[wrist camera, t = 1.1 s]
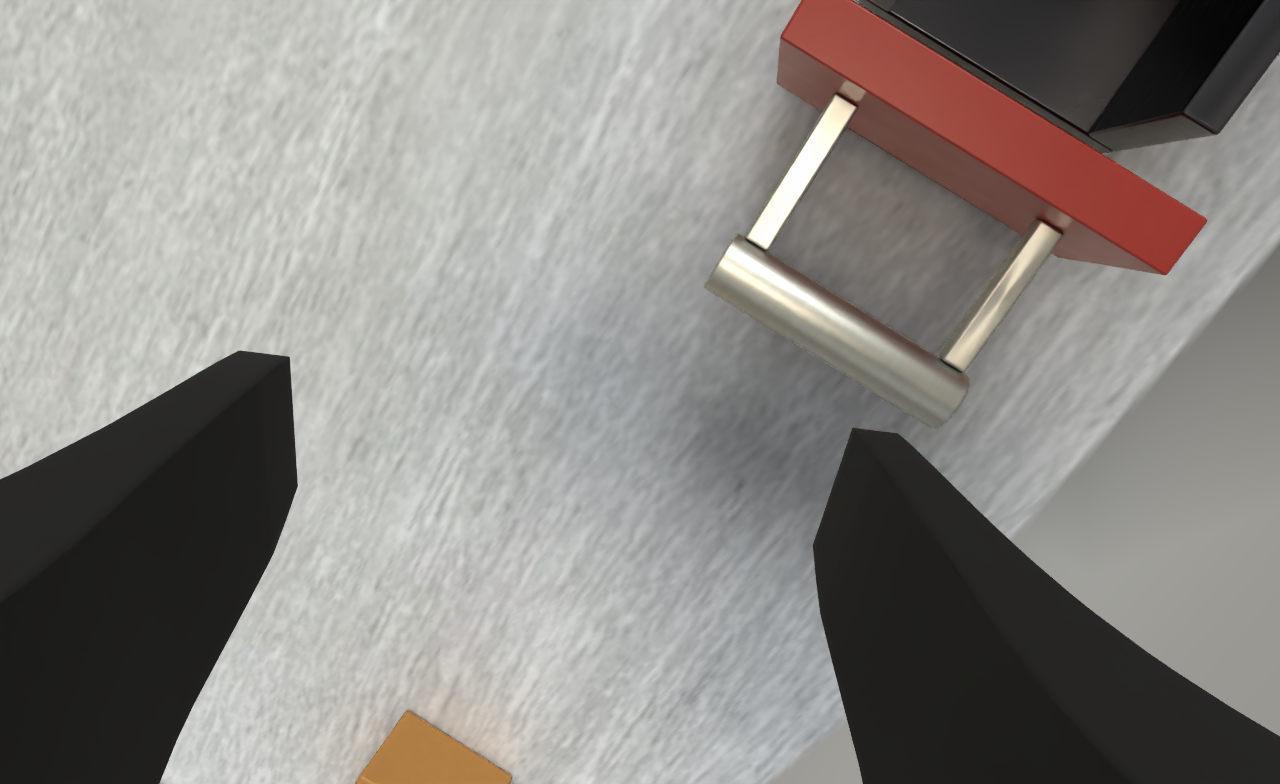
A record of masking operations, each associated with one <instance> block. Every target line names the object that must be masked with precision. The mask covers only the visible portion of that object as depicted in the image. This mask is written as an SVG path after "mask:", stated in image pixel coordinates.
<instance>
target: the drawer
mask: <svg viewBox="0 0 1280 784" xmlns="http://www.w3.org/2000/svg"><path fill="white" fill-rule="evenodd" d="M858 2H859V4H860V5H862V6H864V7H865V8H867V9H868V10H867V9H865V8H864V7H862V6H860V5H859V4H857V3H856V2H854V1H852V0H802V1H801V2H800V4H799V6H798V7H797V9H796V11H795V12H794V14H793V16H792V17H791V19H790V21H789V22H788V24H787V26H786V27H785V29H784V31H783V32H782V34H781V37H780V48H779V60H778V71H777V84H778V85H780V86H782V87H783V88H785V89H787V90H788V91H790V92H791V93H793V94H795V95H796V96H798V97H800V98H801V99H803V100H804V101H806V102H808V103H809V104H811V105H812V106H814V107H816V108H817V109H819V110H821V111H822V113H821V115H820V116H819V118H818V120H817V121H816V123H815V125H814V126H813V128H812V129H811V131H810V133H809V134H808V136H807V137H806V139H805V141H804V142H803V144H802V145H801V147H800V149H799V150H798V152H797V153H796V155H795V157H794V158H793V160H792V161H791V163H790V165H789V166H788V168H787V170H786V171H785V173H784V174H783V176H782V178H781V179H780V181H779V182H778V184H777V186H776V187H775V189H774V190H773V192H772V194H771V195H770V197H769V198H768V200H767V202H766V203H765V205H764V207H763V208H762V210H761V211H760V213H759V215H758V216H757V218H756V219H755V221H754V223H753V224H752V226H751V227H750V229H749V231H748V232H747V234H746V238H745V237H744V236H742V235H740V234H738V233H737V234H735V236H734V237H733V239H732V240H731V242H730V244H729V245H728V247H727V248H726V250H725V251H724V253H723V255H722V256H721V258H720V259H719V261H718V263H717V264H716V266H715V268H714V269H713V271H712V272H711V274H710V276H709V277H708V279H707V281H706V282H705V284H704V287H705V288H706V289H707V290H709V291H710V292H712V293H714V294H715V295H717V296H719V297H720V298H722V299H723V300H725V301H727V302H728V303H730V304H731V305H733V306H735V307H736V308H738V309H739V310H741V311H743V312H744V313H746V314H748V315H749V316H751V317H752V318H754V319H756V320H757V321H759V322H760V323H762V324H764V325H765V326H767V327H768V328H770V329H772V330H773V331H775V332H777V333H778V334H780V335H781V336H783V337H785V338H786V339H788V340H789V341H791V342H793V343H794V344H796V345H797V346H799V347H801V348H802V349H804V350H805V351H807V352H809V353H810V354H812V355H814V356H815V357H817V358H818V359H820V360H822V361H823V362H825V363H826V364H828V365H830V366H831V367H833V368H834V369H836V370H838V371H839V372H841V373H843V374H844V375H846V376H847V377H849V378H851V379H852V380H854V381H855V382H857V383H859V384H860V385H862V386H863V387H865V388H867V389H868V390H870V391H872V392H873V393H875V394H876V395H878V396H880V397H881V398H883V399H884V400H886V401H888V402H889V403H891V404H892V405H894V406H896V407H897V408H899V409H901V410H902V411H904V412H905V413H907V414H909V415H910V416H912V417H913V418H915V419H917V420H918V421H920V422H921V423H923V424H925V425H926V426H928V427H930V428H931V429H937V428H939V427H941V426H942V425H943V424H944V423H946V422H947V421H948V420H949V419H950V418H951V416H952V415H953V414H954V413H955V411H956V410H957V409H958V407H959V406H960V404H961V403H962V401H963V399H964V397H965V396H966V393H967V391H968V388H969V385H970V378H969V376H968V375H966V374H965V373H963V372H966V371H967V370H968V368H969V367H970V365H971V364H972V363H973V361H974V360H975V358H976V357H977V356H978V354H979V353H980V351H981V350H982V349H983V347H984V346H985V344H986V343H987V342H988V340H989V339H990V338H991V336H992V335H993V333H994V332H995V331H996V329H997V328H998V326H999V325H1000V324H1001V322H1002V321H1003V319H1004V318H1005V317H1006V315H1007V314H1008V312H1009V311H1010V310H1011V308H1012V307H1013V305H1014V304H1015V303H1016V301H1017V300H1018V299H1019V297H1020V296H1021V294H1022V293H1023V292H1024V290H1025V289H1026V287H1027V286H1028V285H1029V283H1030V282H1031V280H1032V279H1033V278H1034V276H1035V275H1036V273H1037V272H1038V271H1039V269H1040V268H1041V266H1042V265H1043V264H1044V262H1045V261H1046V260H1047V258H1048V257H1049V255H1050V254H1051V253H1052V254H1054V255H1055V256H1057V257H1060V258H1066V259H1072V260H1078V261H1084V262H1090V263H1096V264H1102V265H1108V266H1114V267H1120V268H1125V269H1131V270H1137V271H1143V272H1149V273H1155V274H1161V275H1167V274H1168V273H1169V271H1170V270H1171V269H1172V267H1173V266H1174V265H1175V263H1176V262H1177V261H1178V259H1179V258H1180V257H1181V255H1182V254H1183V253H1184V251H1185V250H1186V249H1187V248H1188V246H1189V245H1190V244H1191V242H1192V241H1193V240H1194V238H1195V237H1196V236H1197V234H1198V233H1199V232H1200V230H1201V229H1202V228H1203V226H1204V225H1205V224H1206V222H1207V219H1206V218H1205V217H1203V216H1202V215H1200V214H1198V213H1197V212H1195V211H1193V210H1192V209H1190V208H1189V207H1187V206H1185V205H1184V204H1182V203H1180V202H1179V201H1177V200H1176V199H1174V198H1172V197H1171V196H1169V195H1167V194H1166V193H1164V192H1163V191H1161V190H1159V189H1158V188H1156V187H1154V186H1153V185H1151V184H1150V183H1148V182H1146V181H1145V180H1143V179H1141V178H1140V177H1138V176H1137V175H1135V174H1133V173H1132V172H1130V171H1128V170H1127V169H1125V168H1124V167H1122V166H1120V165H1119V164H1117V163H1115V162H1114V161H1112V160H1111V159H1109V158H1107V157H1106V156H1104V155H1102V154H1101V153H1108V152H1114V151H1121V150H1127V149H1133V148H1139V147H1145V146H1151V145H1157V144H1163V143H1170V142H1176V141H1182V140H1188V139H1194V138H1200V137H1206V136H1213V135H1217V134H1219V133H1220V132H1221V131H1222V129H1223V128H1224V127H1225V125H1226V124H1227V122H1228V121H1229V120H1230V118H1231V117H1232V116H1233V114H1234V113H1235V112H1236V110H1237V109H1238V108H1239V106H1240V105H1241V104H1242V102H1243V101H1244V100H1245V98H1246V97H1247V96H1248V94H1249V93H1250V92H1251V90H1252V89H1253V87H1254V86H1255V85H1256V83H1257V82H1258V81H1259V79H1260V78H1261V77H1262V75H1263V74H1264V73H1265V71H1266V70H1267V69H1268V67H1269V66H1270V65H1271V63H1272V62H1273V61H1274V59H1275V58H1276V56H1277V55H1278V54H1279V52H1280V0H859V1H858ZM869 10H870V11H872V12H873V13H875V14H877V15H878V16H880V17H881V18H880V17H878V16H877V15H875V14H873V13H872V12H870V11H869ZM882 18H883V19H885V20H886V21H888V22H890V23H891V24H893V25H894V26H893V25H891V24H890V23H888V22H886V21H885V20H883V19H882ZM895 26H896V27H898V28H899V29H901V30H903V31H904V32H906V33H907V34H906V33H904V32H903V31H901V30H899V29H898V28H896V27H895ZM908 34H909V35H911V36H912V37H914V38H916V39H917V40H919V41H920V42H919V41H917V40H916V39H914V38H912V37H911V36H909V35H908ZM921 42H922V43H924V44H925V45H927V46H929V47H930V48H932V49H933V50H932V49H930V48H929V47H927V46H925V45H924V44H922V43H921ZM934 50H935V51H937V52H938V53H940V54H942V55H943V56H945V57H946V58H945V57H943V56H942V55H940V54H938V53H937V52H935V51H934ZM947 58H948V59H950V60H951V61H953V62H955V63H956V64H958V65H959V66H958V65H956V64H955V63H953V62H951V61H950V60H948V59H947ZM960 66H961V67H963V68H964V69H966V70H968V71H969V72H971V73H972V74H971V73H969V72H968V71H966V70H964V69H963V68H961V67H960ZM973 74H974V75H976V76H977V77H979V78H981V79H982V80H984V81H985V82H984V81H982V80H981V79H979V78H977V77H976V76H974V75H973ZM986 82H987V83H989V84H990V85H992V86H994V87H995V88H997V89H998V90H997V89H995V88H994V87H992V86H990V85H989V84H987V83H986ZM999 90H1000V91H1002V92H1003V93H1005V94H1007V95H1008V96H1010V97H1011V98H1010V97H1008V96H1007V95H1005V94H1003V93H1002V92H1000V91H999ZM1012 98H1013V99H1015V100H1016V101H1018V102H1020V103H1021V104H1023V105H1024V106H1026V107H1028V108H1029V109H1031V110H1033V111H1034V112H1036V113H1037V114H1039V115H1041V116H1042V117H1044V118H1046V119H1047V120H1049V121H1050V122H1052V123H1054V124H1055V125H1057V126H1059V127H1060V128H1062V129H1063V130H1065V131H1067V132H1068V133H1070V134H1072V135H1073V136H1075V137H1076V138H1078V139H1080V140H1081V141H1083V142H1085V143H1086V144H1088V145H1089V146H1091V147H1093V148H1094V149H1096V150H1097V151H1096V150H1094V149H1093V148H1091V147H1089V146H1088V145H1086V144H1085V143H1083V142H1081V141H1080V140H1078V139H1076V138H1075V137H1073V136H1072V135H1070V134H1068V133H1067V132H1065V131H1063V130H1062V129H1060V128H1059V127H1057V126H1055V125H1054V124H1052V123H1050V122H1049V121H1047V120H1046V119H1044V118H1042V117H1041V116H1039V115H1037V114H1036V113H1034V112H1033V111H1031V110H1029V109H1028V108H1026V107H1024V106H1023V105H1021V104H1020V103H1018V102H1016V101H1015V100H1013V99H1012ZM846 127H848V128H850V129H851V130H853V131H855V132H856V133H858V134H859V135H861V136H863V137H864V138H866V139H868V140H869V141H871V142H872V143H874V144H876V145H877V146H879V147H881V148H882V149H884V150H885V151H887V152H889V153H890V154H892V155H893V156H895V157H897V158H898V159H900V160H902V161H903V162H905V163H906V164H908V165H910V166H911V167H913V168H915V169H916V170H918V171H919V172H921V173H923V174H924V175H926V176H927V177H929V178H931V179H932V180H934V181H936V182H937V183H939V184H940V185H942V186H944V187H945V188H947V189H949V190H950V191H952V192H953V193H955V194H957V195H958V196H960V197H961V198H963V199H965V200H966V201H968V202H970V203H971V204H973V205H974V206H976V207H978V208H979V209H981V210H983V211H984V212H986V213H987V214H989V215H991V216H992V217H994V218H996V219H997V220H999V221H1000V222H1002V223H1004V224H1005V225H1007V226H1008V227H1010V228H1012V229H1013V230H1015V231H1017V232H1018V233H1020V234H1021V235H1022V236H1021V237H1020V239H1019V240H1018V242H1017V243H1016V245H1015V246H1014V247H1013V249H1012V250H1011V252H1010V253H1009V254H1008V256H1007V257H1006V259H1005V260H1004V262H1003V263H1002V264H1001V266H1000V267H999V269H998V270H997V271H996V273H995V274H994V276H993V277H992V279H991V280H990V281H989V283H988V284H987V286H986V287H985V288H984V290H983V291H982V293H981V294H980V296H979V297H978V298H977V300H976V301H975V303H974V304H973V306H972V307H971V308H970V310H969V311H968V313H967V314H966V315H965V317H964V318H963V320H962V321H961V323H960V324H959V325H958V327H957V328H956V330H955V331H954V332H953V334H952V335H951V337H950V338H949V340H948V341H947V342H946V344H945V345H944V347H943V348H942V349H941V351H940V352H939V355H938V356H939V357H940V358H941V359H940V358H939V357H937V356H936V355H934V354H932V353H931V352H929V351H928V350H926V349H924V348H923V347H921V346H919V345H918V344H916V343H915V342H913V341H911V340H910V339H908V338H907V337H905V336H903V335H902V334H900V333H899V332H897V331H895V330H894V329H892V328H890V327H889V326H887V325H886V324H884V323H882V322H881V321H879V320H878V319H876V318H874V317H873V316H871V315H869V314H868V313H866V312H865V311H863V310H861V309H860V308H858V307H857V306H855V305H853V304H852V303H850V302H849V301H847V300H845V299H844V298H842V297H840V296H839V295H837V294H836V293H834V292H832V291H831V290H829V289H828V288H826V287H824V286H823V285H821V284H819V283H818V282H816V281H815V280H813V279H811V278H810V277H808V276H807V275H805V274H803V273H802V272H800V271H798V270H797V269H795V268H794V267H792V266H790V265H789V264H787V263H786V262H784V261H782V260H781V259H779V258H778V257H776V256H774V255H773V254H771V253H769V252H768V250H769V249H770V248H771V246H772V245H773V243H774V241H775V240H776V238H777V237H778V235H779V234H780V232H781V230H782V229H783V227H784V226H785V224H786V222H787V221H788V219H789V218H790V216H791V215H792V213H793V211H794V210H795V208H796V207H797V205H798V203H799V202H800V200H801V199H802V197H803V196H804V194H805V192H806V191H807V189H808V188H809V186H810V184H811V183H812V181H813V180H814V178H815V177H816V175H817V173H818V172H819V170H820V169H821V167H822V165H823V164H824V162H825V161H826V159H827V158H828V156H829V154H830V153H831V151H832V150H833V148H834V146H835V145H836V143H837V142H838V140H839V139H840V137H841V135H842V134H843V132H844V131H845V129H846ZM1098 151H1099V152H1101V153H1099V152H1098Z"/></svg>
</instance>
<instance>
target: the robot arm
mask: <svg viewBox="0 0 1280 784" xmlns="http://www.w3.org/2000/svg"><path fill="white" fill-rule="evenodd" d="M297 487H298V484H297V468H296V452H295V436H294V420H293V404H292V388H291V372H290V357H287V356H279V355H271V354H263V353H255V352H247V351H238V352H236V353H234V354H232V355H230V356H228V357H226V358H224V359H222V360H220V361H218V362H217V363H215V364H213V365H211V366H209V367H208V368H206V369H204V370H203V371H201V372H199V373H197V374H196V375H194V376H192V377H191V378H189V379H187V380H186V381H184V382H182V383H180V384H179V385H177V386H175V387H174V388H172V389H170V390H169V391H167V392H165V393H163V394H162V395H160V396H158V397H156V398H155V399H153V400H151V401H149V402H148V403H146V404H144V405H142V406H141V407H139V408H137V409H135V410H134V411H132V412H130V413H128V414H127V415H125V416H123V417H121V418H120V419H118V420H116V421H114V422H113V423H111V424H109V425H107V426H105V427H104V428H102V429H100V430H98V431H96V432H94V433H92V434H90V435H88V436H86V437H84V438H82V439H80V440H78V441H77V442H75V443H73V444H71V445H69V446H67V447H65V448H63V449H61V450H59V451H57V452H55V453H53V454H51V455H49V456H47V457H46V458H44V459H42V460H40V461H38V462H36V463H34V464H32V465H30V466H28V467H26V468H24V469H22V470H20V471H18V472H15V473H13V474H11V475H9V476H7V477H5V478H3V479H0V784H159V783H160V780H161V778H162V775H163V773H164V771H165V768H166V766H167V763H168V761H169V758H170V756H171V753H172V751H173V748H174V746H175V743H176V741H177V739H178V736H179V734H180V732H181V730H182V728H183V726H184V724H185V722H186V720H187V718H188V715H189V713H190V711H191V709H192V707H193V705H194V703H195V701H196V699H197V697H198V695H199V694H200V692H201V690H202V688H203V686H204V684H205V682H206V680H207V679H208V677H209V675H210V673H211V671H212V669H213V667H214V665H215V664H216V662H217V660H218V658H219V656H220V654H221V652H222V650H223V649H224V647H225V645H226V643H227V641H228V639H229V637H230V635H231V634H232V632H233V630H234V628H235V626H236V624H237V622H238V620H239V619H240V617H241V615H242V613H243V611H244V609H245V607H246V605H247V604H248V602H249V600H250V598H251V596H252V594H253V592H254V590H255V588H256V586H257V584H258V583H259V581H260V579H261V577H262V575H263V573H264V571H265V569H266V567H267V565H268V563H269V561H270V559H271V557H272V555H273V553H274V551H275V548H276V545H277V543H278V540H279V537H280V535H281V532H282V529H283V527H284V524H285V521H286V518H287V516H288V513H289V510H290V507H291V504H292V501H293V498H294V495H295V493H296V490H297ZM813 552H814V562H815V572H816V583H817V591H818V599H819V607H820V614H821V618H822V622H823V626H824V630H825V634H826V638H827V642H828V646H829V650H830V654H831V658H832V662H833V666H834V670H835V674H836V678H837V682H838V686H839V690H840V693H841V697H842V701H843V705H844V709H845V713H846V717H847V720H848V724H849V728H850V732H851V736H852V740H853V744H854V747H855V751H856V755H857V759H858V763H859V767H860V772H861V776H862V781H863V784H1280V736H1278V735H1276V734H1275V733H1273V732H1271V731H1270V730H1268V729H1266V728H1265V727H1263V726H1261V725H1260V724H1258V723H1256V722H1255V721H1253V720H1251V719H1250V718H1248V717H1246V716H1245V715H1243V714H1241V713H1240V712H1238V711H1236V710H1235V709H1233V708H1231V707H1230V706H1228V705H1226V704H1225V703H1223V702H1222V701H1220V700H1219V699H1217V698H1216V697H1214V696H1213V695H1211V694H1209V693H1208V692H1206V691H1205V690H1203V689H1202V688H1200V687H1198V686H1197V685H1195V684H1194V683H1192V682H1191V681H1189V680H1188V679H1186V678H1185V677H1183V676H1182V675H1180V674H1179V673H1177V672H1175V671H1174V670H1172V669H1171V668H1170V667H1168V666H1167V665H1165V664H1164V663H1162V662H1161V661H1159V660H1158V659H1157V658H1155V657H1153V656H1152V655H1151V654H1149V653H1148V652H1146V651H1145V650H1144V649H1142V648H1141V647H1139V646H1138V645H1137V644H1135V643H1134V642H1133V641H1131V640H1130V639H1129V638H1127V637H1126V636H1125V635H1123V634H1122V633H1121V632H1119V631H1118V630H1117V629H1115V628H1114V627H1113V626H1111V625H1110V624H1109V623H1107V622H1106V621H1105V620H1103V619H1102V618H1101V617H1099V616H1098V615H1096V614H1095V613H1094V612H1093V611H1091V610H1090V609H1089V608H1088V607H1086V606H1085V605H1084V604H1083V603H1081V602H1080V601H1079V600H1078V599H1076V598H1075V597H1074V596H1073V595H1072V594H1070V593H1069V592H1068V591H1067V590H1066V589H1064V588H1063V587H1062V586H1061V585H1060V584H1059V583H1057V582H1056V581H1055V580H1054V579H1053V578H1052V577H1050V576H1049V575H1048V574H1047V573H1046V572H1045V571H1044V570H1042V569H1041V568H1040V567H1039V566H1038V565H1036V564H1035V563H1034V562H1033V561H1032V560H1031V559H1030V558H1028V557H1027V556H1026V555H1025V554H1024V553H1023V552H1022V551H1021V550H1020V549H1019V548H1018V547H1016V546H1015V545H1014V544H1013V543H1012V542H1011V541H1010V540H1009V539H1008V538H1007V537H1006V536H1004V535H1003V534H1002V533H1001V532H1000V531H999V530H998V529H997V528H996V527H995V526H994V525H993V524H992V523H991V522H990V521H989V520H988V519H987V518H986V517H984V516H983V515H982V514H981V513H980V512H979V511H978V510H977V509H976V508H975V507H974V506H973V505H972V504H971V503H970V502H969V501H968V500H967V499H966V498H965V497H964V496H963V495H962V494H961V493H960V492H959V491H958V490H957V489H956V488H955V487H954V486H953V485H952V484H951V483H950V482H949V481H948V480H947V479H946V478H945V477H944V476H943V475H942V474H941V473H940V472H939V471H938V470H937V469H936V468H935V467H934V466H933V465H932V464H930V463H929V462H928V461H927V460H926V459H925V458H924V457H923V456H922V455H921V454H920V453H919V452H918V451H917V450H916V449H915V448H914V447H913V446H912V445H911V444H909V443H908V442H907V441H906V440H905V439H904V438H903V437H901V436H900V435H899V434H897V433H890V432H882V431H874V430H866V429H858V428H852V431H851V434H850V437H849V440H848V443H847V446H846V449H845V452H844V455H843V458H842V461H841V464H840V467H839V470H838V473H837V475H836V478H835V481H834V484H833V487H832V490H831V493H830V496H829V499H828V502H827V505H826V508H825V511H824V514H823V517H822V520H821V523H820V526H819V529H818V532H817V534H816V537H815V540H814V543H813Z"/></svg>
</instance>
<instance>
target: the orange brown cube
mask: <svg viewBox="0 0 1280 784" xmlns="http://www.w3.org/2000/svg"><path fill="white" fill-rule="evenodd" d="M511 779H512V776H511V775H510V774H508V773H507V772H505V771H503V770H502V769H500V768H499V767H497V766H495V765H494V764H492V763H491V762H489V761H487V760H486V759H484V758H483V757H481V756H480V755H478V754H476V753H475V752H473V751H472V750H470V749H468V748H467V747H465V746H464V745H462V744H460V743H459V742H457V741H456V740H454V739H453V738H451V737H449V736H448V735H446V734H445V733H443V732H441V731H440V730H438V729H437V728H435V727H433V726H432V725H430V724H429V723H427V722H426V721H424V720H422V719H421V718H419V717H418V716H416V715H414V714H413V713H411V712H410V711H406V712H405V713H404V715H403V716H402V717H401V719H400V720H399V722H398V723H397V724H396V726H395V727H394V729H393V730H392V731H391V733H390V734H389V736H388V737H387V738H386V740H385V741H384V743H383V744H382V745H381V747H380V748H379V750H378V751H377V752H376V754H375V755H374V757H373V758H372V759H371V761H370V762H369V764H368V765H367V766H366V768H365V769H364V771H363V772H362V773H361V775H360V776H359V778H358V780H357V781H356V783H355V784H510V782H511Z"/></svg>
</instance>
